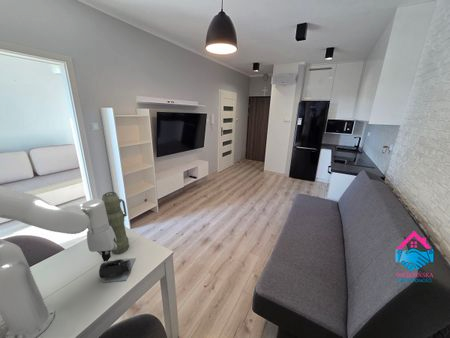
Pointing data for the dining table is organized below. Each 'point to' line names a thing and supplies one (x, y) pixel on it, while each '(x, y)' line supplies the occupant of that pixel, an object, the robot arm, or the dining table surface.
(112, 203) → the thermos
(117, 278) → the mat
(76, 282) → the dining table surface
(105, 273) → the supplement bottle
